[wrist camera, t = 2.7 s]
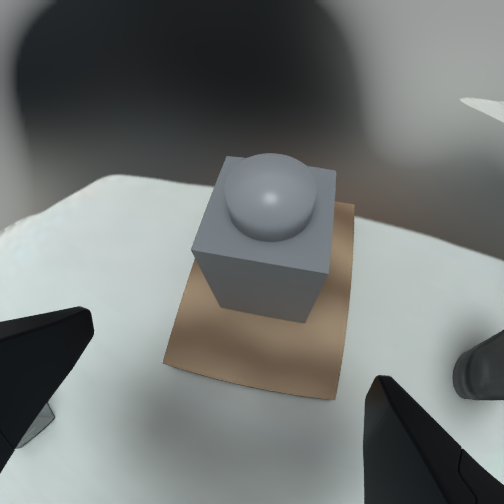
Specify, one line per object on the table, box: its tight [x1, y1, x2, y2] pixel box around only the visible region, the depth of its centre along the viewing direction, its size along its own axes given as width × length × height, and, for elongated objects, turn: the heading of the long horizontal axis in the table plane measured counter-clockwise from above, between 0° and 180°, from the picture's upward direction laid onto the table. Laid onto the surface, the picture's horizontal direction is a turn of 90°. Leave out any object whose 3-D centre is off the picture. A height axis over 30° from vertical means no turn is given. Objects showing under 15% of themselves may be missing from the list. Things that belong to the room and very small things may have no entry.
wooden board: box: [163, 201, 354, 400], centre depth 20 cm, size 16×12×6 cm
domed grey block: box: [191, 153, 336, 324], centre depth 16 cm, size 6×6×10 cm
